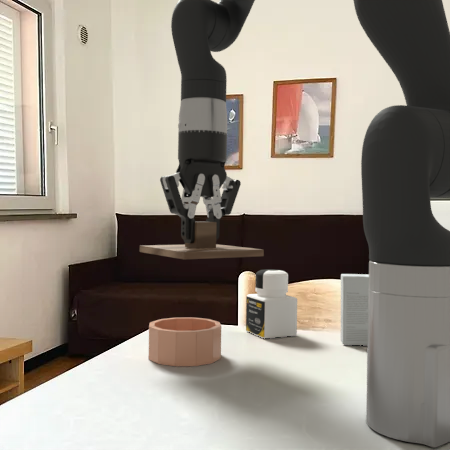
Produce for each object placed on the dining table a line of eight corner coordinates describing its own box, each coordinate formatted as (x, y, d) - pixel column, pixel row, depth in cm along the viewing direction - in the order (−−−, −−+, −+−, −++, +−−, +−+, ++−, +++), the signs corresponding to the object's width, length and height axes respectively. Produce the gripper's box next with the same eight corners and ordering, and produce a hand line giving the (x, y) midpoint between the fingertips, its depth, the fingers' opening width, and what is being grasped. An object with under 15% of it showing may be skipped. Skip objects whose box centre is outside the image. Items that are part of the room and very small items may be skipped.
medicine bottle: (245, 331, 102) (246, 268, 101) (277, 328, 105) (278, 267, 104) (263, 339, 95) (264, 272, 95) (297, 336, 98) (298, 271, 98)
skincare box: (373, 341, 95) (375, 274, 95) (378, 347, 91) (379, 276, 91) (339, 340, 96) (340, 273, 96) (342, 345, 91) (343, 275, 91)
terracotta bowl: (234, 359, 82) (234, 326, 82) (171, 370, 75) (172, 335, 75) (195, 344, 91) (195, 315, 91) (136, 353, 84) (136, 321, 84)
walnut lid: (263, 256, 81) (264, 223, 81) (184, 259, 73) (184, 223, 73) (213, 249, 93) (213, 220, 93) (139, 251, 85) (140, 220, 85)
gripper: (174, 123, 75) (172, 245, 76) (253, 133, 84) (251, 243, 84) (150, 129, 82) (148, 242, 82) (226, 138, 90) (224, 240, 90)
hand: (200, 242), depth 83 cm, fingers closed on walnut lid, 3 cm apart
